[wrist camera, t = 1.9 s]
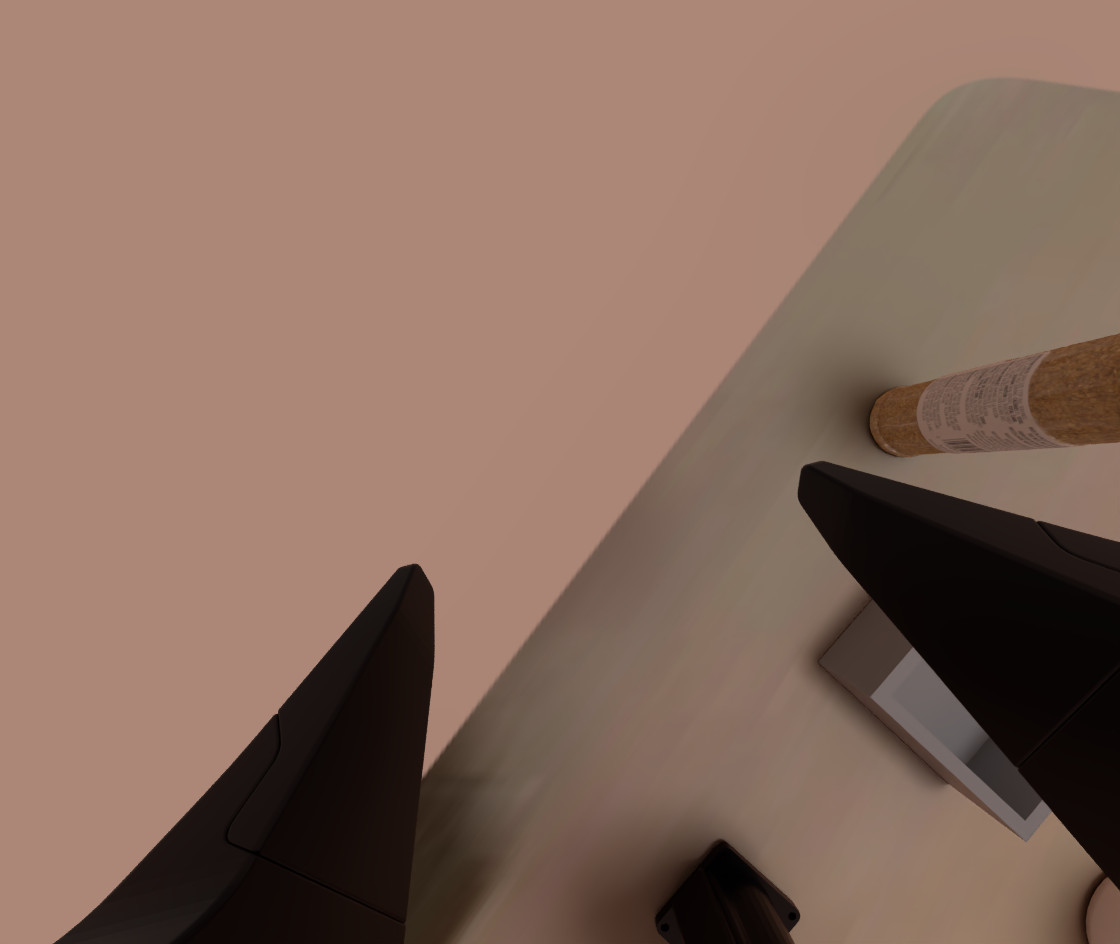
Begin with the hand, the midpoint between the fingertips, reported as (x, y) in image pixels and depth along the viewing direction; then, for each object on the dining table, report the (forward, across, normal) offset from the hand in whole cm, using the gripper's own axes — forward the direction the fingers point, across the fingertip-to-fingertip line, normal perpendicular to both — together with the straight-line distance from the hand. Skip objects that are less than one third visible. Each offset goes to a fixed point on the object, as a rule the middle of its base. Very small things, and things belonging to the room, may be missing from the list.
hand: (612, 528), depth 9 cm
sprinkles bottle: (+13, -21, +10) cm, 27 cm away
